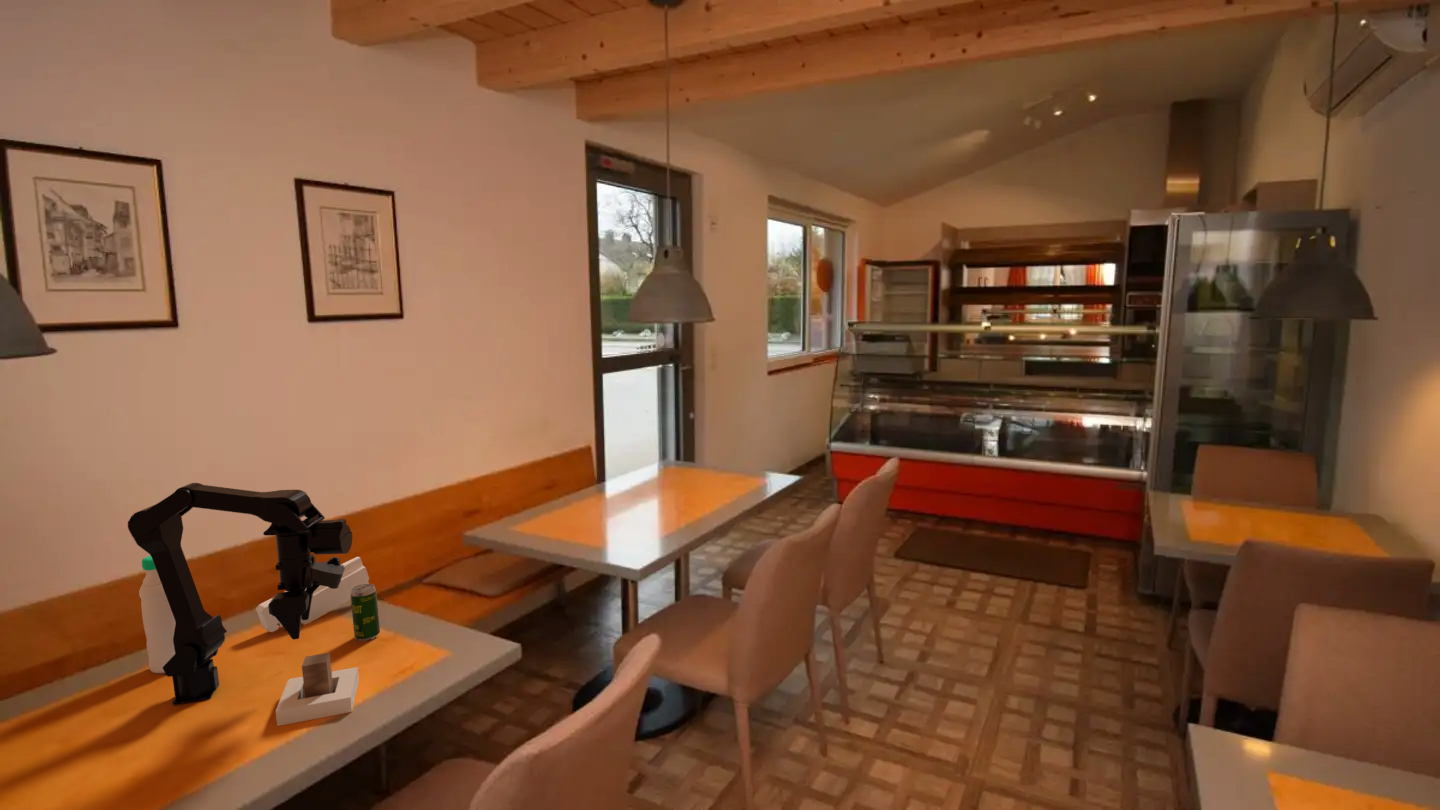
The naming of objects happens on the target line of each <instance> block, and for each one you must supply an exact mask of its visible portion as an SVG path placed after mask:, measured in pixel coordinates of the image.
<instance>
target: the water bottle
mask: <svg viewBox="0 0 1440 810" xmlns="http://www.w3.org/2000/svg"><path fill="white" fill-rule="evenodd" d="M141 566H142V567H141V568H142V569H143V571H144V572H145V577H144V578H143V580H142V584H141V586H140V587H139V591H138V596H139V598H140V599H141V601H140V602H141V603H140V604H141V605H140V607H141V616H142V624H143V629H144V633H145V637H146V650H147V653H148V665H149V666H148V667H149V670H150V671H151V672H152V673H153V674H165V672H164V670H163V666H164V665H165V664H166V663H167V662H168V661H169V660H170V659H171V658H172V657H173V656H174V655H175V650H174V644H173V636H174V630H175V624H176V623H175V619H174V616H173V614H172V611H171V608H170V606H169V603H168V600H167V597H166V595H165V592H164V589H163V587H162V584H161V581H160V579H159V576H158V573H157V571H156V568H155V565H154V562H153V560H152V557H151V555H148V556H146V557H144V558H142V560H141Z"/></svg>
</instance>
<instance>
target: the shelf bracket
mask: <svg viewBox="0 0 1440 810" xmlns="http://www.w3.org/2000/svg"><path fill="white" fill-rule="evenodd" d="M342 565H344V568H345V570H344V573H343V576H342V579H341V582H340V584H339V586H338V588H336V589H332V588H329V587H327V586H321V585H320V586H319V587H318V588H317V589H316V590H315V591H314V592H313V597H312V602H311V608H310V614H309V619H308V620H302V618H301V625H308V624H310V623H311V622H314V621H315V620H317V619H319V618H321V617H322V616H324V615H326V614H328V613H329V612H331V611H333V610H335V609H336V608H338V607H340V606H341V605H343V604H345V603H346V602H348V601H351V595H350V594H351V589H352V588H353V587H355V586H358V585H362V584H370V583H369V580H370V577H369V573H368V571H367V568H366V566H364V565H363V562H362V558H361V557H360V556H356V557H353V558H351V559H350V560H347V561H346V562H343V563H341V566H342ZM284 592H287V591H285V590H284ZM272 598H273V597H271V598H270V599H268V600H265V601H263V602H261V603H260V604H258V605H257V607H255V610H256V612H257V615H258V618H259V620H260V624H261V626H262V628H263V629H264V630H266V631H268V632H271V633H274V632H276V631H277V630H279V627H280V628H284V627H283V626H282V624H281V623H280V622H279V621H278V620H277V618H276V617H275V616H272V615H271V614H269V606H268V605H269V603H270V602H271V600H272Z"/></svg>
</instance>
